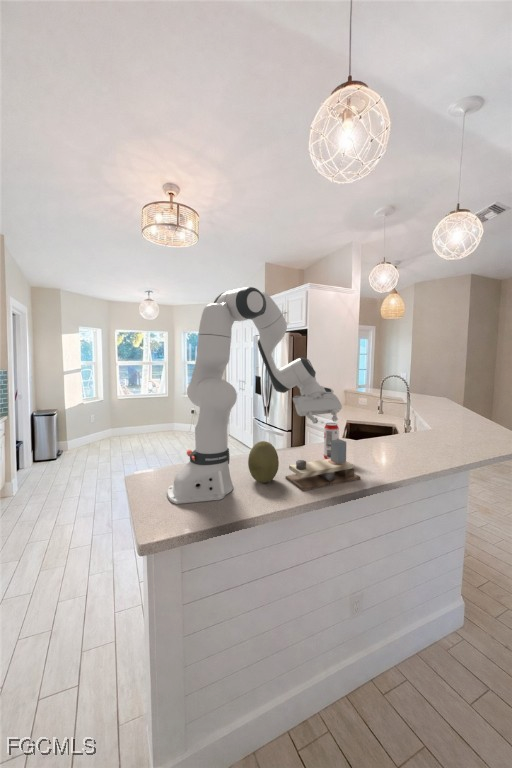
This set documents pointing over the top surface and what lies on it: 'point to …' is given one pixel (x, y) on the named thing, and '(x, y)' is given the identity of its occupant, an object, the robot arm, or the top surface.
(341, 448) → the block
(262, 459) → the fruit
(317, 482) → the rocker stand
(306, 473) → the balance board
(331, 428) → the beer can
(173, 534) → the top surface
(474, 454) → the top surface
